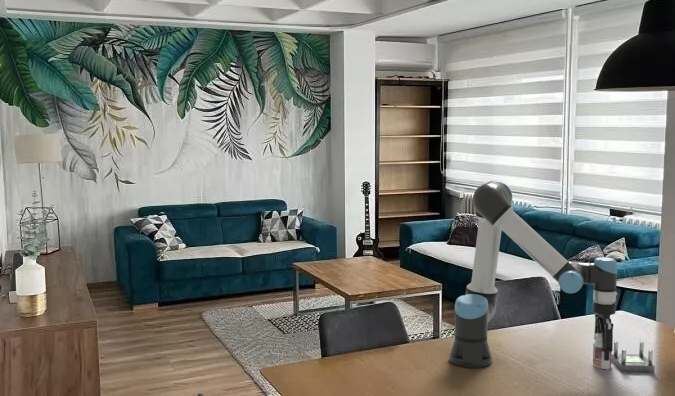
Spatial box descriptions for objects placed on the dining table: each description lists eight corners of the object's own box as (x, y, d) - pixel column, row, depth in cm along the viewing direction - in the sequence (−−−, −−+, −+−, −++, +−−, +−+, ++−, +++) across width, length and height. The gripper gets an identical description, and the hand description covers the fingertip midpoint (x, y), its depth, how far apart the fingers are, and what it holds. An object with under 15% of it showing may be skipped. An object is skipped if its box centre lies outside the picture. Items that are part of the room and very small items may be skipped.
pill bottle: (614, 368, 252) (615, 337, 250) (597, 369, 251) (599, 338, 250) (605, 362, 258) (606, 332, 256) (589, 363, 257) (590, 332, 256)
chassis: (621, 372, 248) (622, 351, 247) (611, 360, 260) (611, 340, 259) (654, 372, 247) (655, 351, 246) (642, 361, 259) (643, 341, 258)
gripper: (624, 309, 242) (621, 375, 244) (607, 295, 261) (605, 356, 263) (601, 308, 242) (599, 374, 245) (586, 295, 261) (584, 356, 264)
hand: (602, 365), depth 254 cm, fingers closed on pill bottle, 6 cm apart
